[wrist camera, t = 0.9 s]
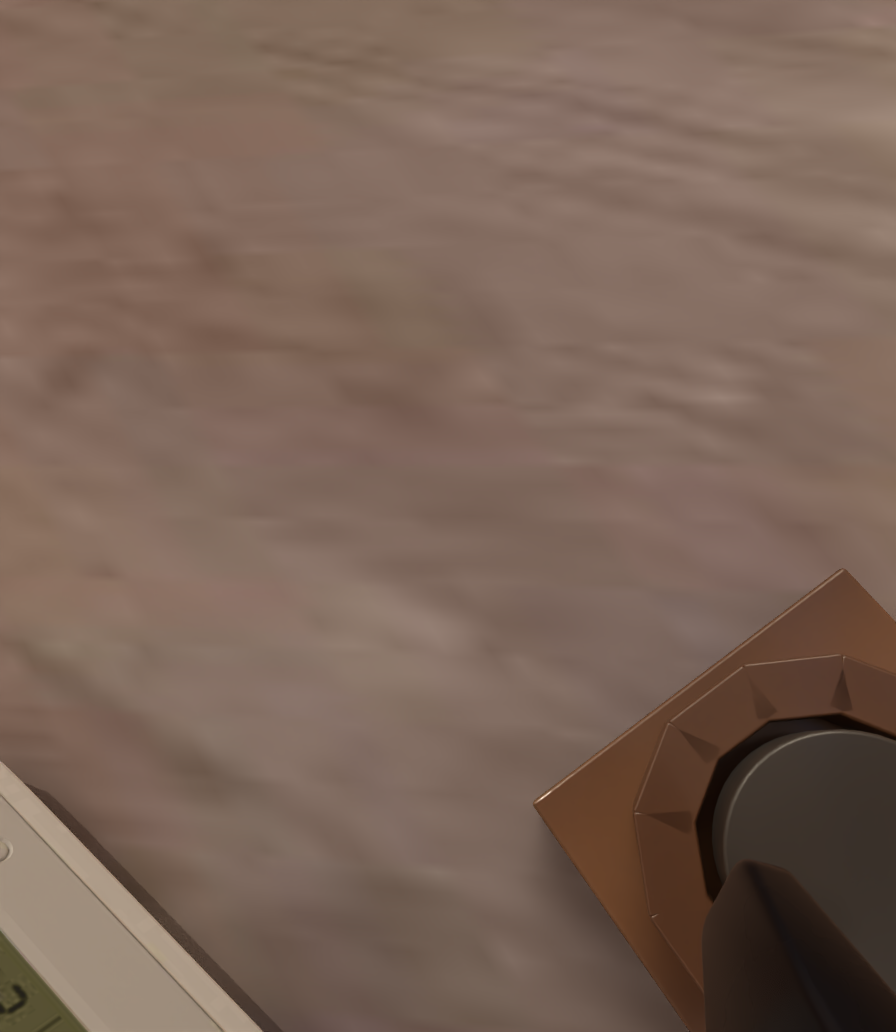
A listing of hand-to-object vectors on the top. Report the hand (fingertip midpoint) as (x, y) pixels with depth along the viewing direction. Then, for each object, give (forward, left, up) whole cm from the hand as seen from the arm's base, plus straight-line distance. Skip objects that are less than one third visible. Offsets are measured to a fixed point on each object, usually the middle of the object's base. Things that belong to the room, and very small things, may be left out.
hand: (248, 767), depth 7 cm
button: (-5, -6, -11) cm, 13 cm away
